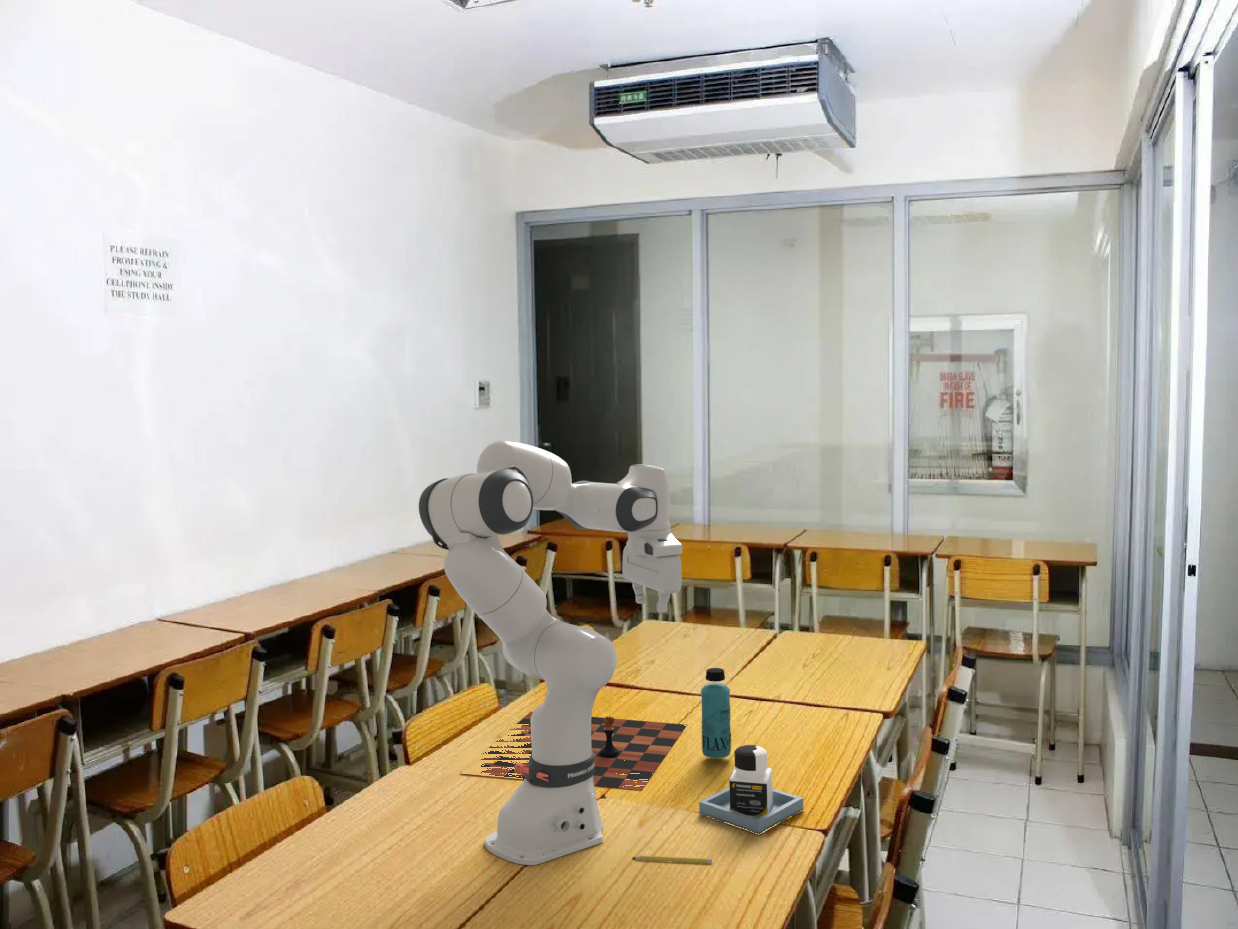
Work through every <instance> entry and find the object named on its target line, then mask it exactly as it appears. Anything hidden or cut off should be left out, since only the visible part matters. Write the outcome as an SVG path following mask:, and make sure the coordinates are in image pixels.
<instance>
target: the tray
mask: <svg viewBox="0 0 1238 929" xmlns="http://www.w3.org/2000/svg"><path fill="white" fill-rule="evenodd" d="M772 791H773V803H772V806H771V809H770V812H769V813H768V814H766V815H764V816H762V817H760V818H757V817H751V816H748V815H745V814H742V813H739V812H736V811H733V810H730V789H729V786H728V787H726V788H724V789H722V790H721V791H718V792H716V793H714V794H712V795H709V796H707V797H706V798H704V799H702V800H700V801H699V802H698V808H699V810H698V813H699V814H702V815H704V816H703V817H705V816H709V817H711V818H714V819H716V820H719V821H721V822H720V823H722V822H727V823H730V824H733V825H735V826H738V827H741V828H744V829H747V830H749V831H752V832H754V833H757V834H760V833H762V832H763V831H765V830H766V829H768V828H770V827H772V826H774V825H775V824H777V823H779V822H782V823H784V822H785V821H784V820H786V819H787V818H789V817H790V816H793V815H795V814H796V813H798V812H800V811H801V810H803V811H804V798H803V797H801V796H798V795H795V794H791V793H788V792H785V791H783V790H779V789H776V788H773V787H772ZM800 813H801V812H800ZM798 814H799V813H798ZM702 815H701V816H702ZM796 815H797V814H796ZM796 815H795V816H796ZM793 817H794V816H793ZM711 818H710V819H711ZM714 819H713V820H714ZM789 819H790V818H789ZM716 820H715V821H716ZM719 821H718V822H719ZM783 821H784V822H783ZM786 821H787V820H786Z"/></svg>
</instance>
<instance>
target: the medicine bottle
mask: <svg viewBox="0 0 1238 929" xmlns="http://www.w3.org/2000/svg"><path fill="white" fill-rule="evenodd" d="M767 754H768V753H767V750H766V749H765V748H763V747H762V746H758V745H755V744H745V745H740V746H739V747H737V748H736V749H735V750H734V768H733V771H732V773H731V776H730V777H729V779H728V780H729V781H728V783H729V786H728V787H729V789H730V810H733V811H736V812H739V813H742V814H745V815H748V816H751V817H757V818H760V817H762V816H764V815H766V814H768V813H769V812H770V809H771V806H772V803H773V791H772V788H773V769H772V768H771V767H767V765H768V758H767Z"/></svg>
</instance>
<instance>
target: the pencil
mask: <svg viewBox="0 0 1238 929" xmlns="http://www.w3.org/2000/svg"><path fill="white" fill-rule="evenodd" d="M636 859H637V860H636ZM632 860H636V861H640V860H646V861H645V862H660V861H672V862H671V863H680V862H690V863H689V864H700V863H704V864H705V865H706V863H708V864H707V865H712V864H711V863H713V859H712V858H704V857H703V858H702V857H680V856H662V855H661V856H658V855H638V856H633V857H632ZM649 860H650V861H649ZM675 861H676V862H675Z"/></svg>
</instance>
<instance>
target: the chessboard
mask: <svg viewBox="0 0 1238 929" xmlns="http://www.w3.org/2000/svg"><path fill="white" fill-rule="evenodd" d="M532 713H533V711H529V712H528V714H526V715H525V716H524V717H523V718H521V719H520V720H519V721H518V722H517V723H516V724H529V725H522V726H521V728H516V729H515V728H514V729H511V728H510V729H509V730H525V731H521V734H517V735H515V734H514V735H511V736H530V737H529V738H528V737H526V738H523V739H521V738H520V739H519V740H518V739H516V741H515V740H514V739H513V741H511V740H510V742H531V716H532ZM684 725H686V724H683V723H672V722H669V723H668V722H658V721H647V720H635V719H624V718H623V719H622V718H614V716H612V717H611V716H605V717H603V716H602V717H601V716H591V748H592V751H593V753H594V762H595V773H594V775H593V781H594V786H597V787H596V788H604V787H607V788H606V789H615V788H616V789H617V790H626V789H627V790H629V791H638V790H639V791H638V792H641V791H644V789H645V787H646V786H647V784H648V782H650V780H651V778H653V775H654V774H655V773H656V772H657V770H658V768H659V767H660V765H661V764H662V763H663V761H664V760H665V759H666V757H667V756H668V754H669V752H671V750H672V749H673V746H674V745H675V744H676V742H677V741H678V740H679V738H680V737H681V736H682V734H683V732H684V731H685V729H686V728H687V727H686V726H684ZM527 730H528V731H527ZM683 730H684V731H683ZM508 736H509V735H508ZM679 736H680V737H679ZM495 742H509V741H504V740H503V739H502V740H501V739H500V740H499V741H498V739H497V740H496V741H495ZM488 748H503V747H502V746H501V747H499V746H497V747H492V746H491V745H490V746H489V747H488ZM504 748H532V743H530V744H528V743H527V745H526V744H524V746H522V745H521V747H520V746H518V747H514V746H509V745H507V747H506V746H504ZM502 751H503V750H502ZM505 751H506V750H505ZM523 751H524V752H525V753H524V752H522V751H521V752H522V754H532V750H531V751H530V750H526V751H525V750H523ZM506 752H507V753H505V752H504V753H502V752H499V751H495V752H494V751H490V752H488V754H518V753H519V752H518V753H515V752H512V751H509V750H508V751H506ZM482 753H483V752H482ZM485 753H486V752H485ZM483 754H484V753H483ZM486 754H487V753H486ZM519 754H521V753H519ZM496 757H497V756H496ZM499 757H500V758H499ZM499 757H497V758H495V757H494V758H484V759H481V760H529V759H530V758H520V757H518V758H516V757H515V756H513V757H515V758H516V759H515V758H512V757H511V758H509V757H503V756H499ZM529 757H530V756H529ZM624 760H625V761H624ZM494 762H495V761H494ZM511 762H512V761H511ZM527 762H528V761H527ZM513 763H514V762H513ZM513 763H508V762H502V761H497V762H495V763H484V764H485V765H484V764H482V765H484V766H482V765H481V767H501V768H492V769H491V768H489V769H491V770H489V769H488V768H487V769H488V770H486V771H482V772H484V773H491V774H489V775H495V776H504V777H516V776H519V777H516V778H523V779H525V775H524V776H522V775H516V776H515V775H512V774H509V775H512V776H509V775H508V773H516V772H514V771H515V770H514V769H512V768H510V769H512V770H510V769H509V768H507V767H515V766H516V763H517V762H516V763H515V764H513ZM522 764H525V765H527V766H528V763H522ZM503 767H504V768H507V769H502V768H503ZM508 769H509V770H508ZM482 772H481V773H482ZM500 773H501V774H500ZM502 773H504V774H502ZM506 773H507V774H506ZM616 773H617V774H616ZM623 773H624V774H627V775H620V774H623ZM630 773H640V774H630ZM652 773H654V774H652ZM505 774H506V775H505ZM521 776H522V777H521ZM625 779H630V780H625ZM639 779H648V780H639ZM649 779H650V780H649ZM633 780H638V781H633ZM642 781H648V782H642ZM635 782H637V783H635ZM625 785H633V786H625ZM636 785H646V786H640V787H634V786H636ZM623 786H624V787H623ZM643 788H644V789H643ZM627 790H626V791H627Z"/></svg>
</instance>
